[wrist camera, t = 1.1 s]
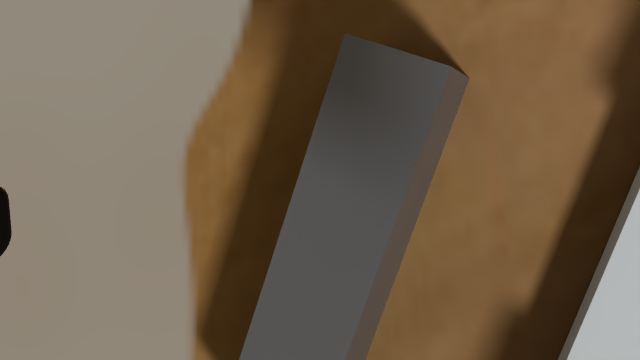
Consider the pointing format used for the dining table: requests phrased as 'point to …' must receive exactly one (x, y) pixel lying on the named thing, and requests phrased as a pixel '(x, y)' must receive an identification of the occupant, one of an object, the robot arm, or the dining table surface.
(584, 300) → the display stand
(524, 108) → the dining table surface
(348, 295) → the frame bar
